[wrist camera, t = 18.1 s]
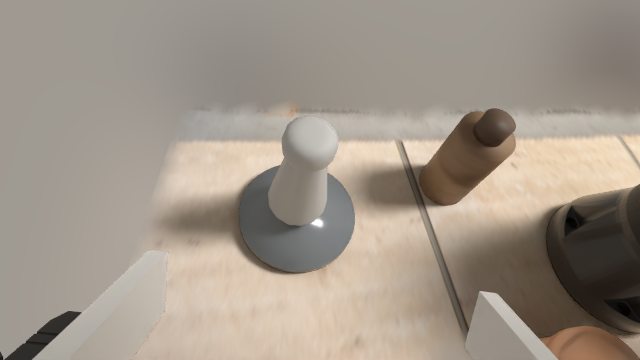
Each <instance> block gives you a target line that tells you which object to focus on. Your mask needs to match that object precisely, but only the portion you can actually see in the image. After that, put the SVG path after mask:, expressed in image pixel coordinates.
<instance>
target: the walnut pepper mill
mask: <svg viewBox="0 0 640 360" xmlns="http://www.w3.org/2000/svg"><path fill="white" fill-rule="evenodd" d="M515 128H516V124H515V121H514V119H513V118H512V117H511V116H510V115H509V114H508V113H506V112H505V111H503V110H500V109H495V108H493V109H489V110H487V111H486V112H471V113H469V114H467V115H465V116H464V117H463V118H462V120H461V121H460V122H459V124H458V125H457V126H456V128H455V129H454V130H453V131H452V133H451V134H450V135H449V137H448V138H447V139H446V140H445V142H444V143H443V144H442V146H441V147H440V148H439V150H438V151H437V152H436V153H435V155H434V156H433V157H432V159H431V160H430V161H429V162H428V164H427V165H426V166H425V168H424V169H423V170H422V172H421V174H420V178H419V181H420V186H421V188H422V190H423V192H424V193H425V195H426V196H427V197H428V198H429V199H431V200H432V201H434V202H436V203H438V204H441V205H453V204H456V203H458V202H459V201H460V200H461V199H462V198H463V197H465V196H466V195H467V194H468V193H469V192H470V191H471V190H472V189H473V188H475V187H476V186H477V185H478V184H479V183H480V182H481V181H482V180H483V179H484V178H486V177H487V176H488V175H489V174H490V173H491V172H492V171H493V170H494V169H496V168H497V167H498V166H499V165H500V164H501V163H502V162H503V161H504V160H505V159H507V158H508V157H509V156H510V155H511V154H512V153H513V152H514V150H515V146H516V140H515V137H514V134H513V132H514V131H515Z"/></svg>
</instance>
